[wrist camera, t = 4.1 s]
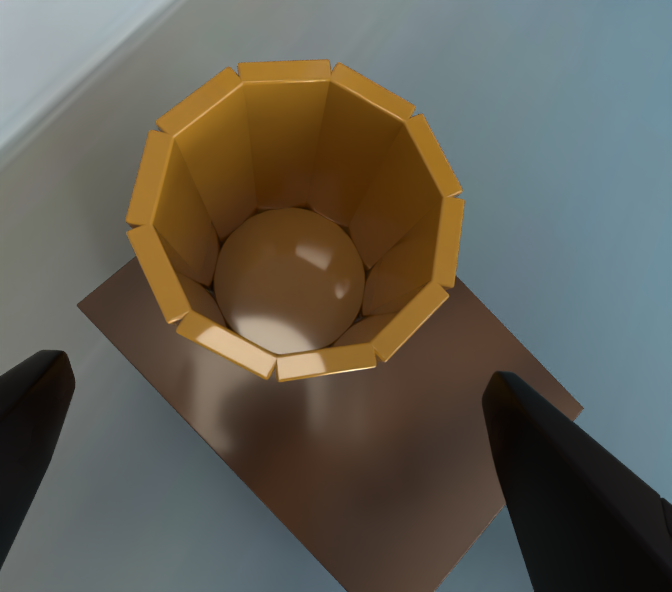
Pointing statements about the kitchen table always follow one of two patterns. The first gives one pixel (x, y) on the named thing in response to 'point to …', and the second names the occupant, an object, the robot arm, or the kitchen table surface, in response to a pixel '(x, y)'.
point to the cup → (296, 219)
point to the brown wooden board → (348, 433)
